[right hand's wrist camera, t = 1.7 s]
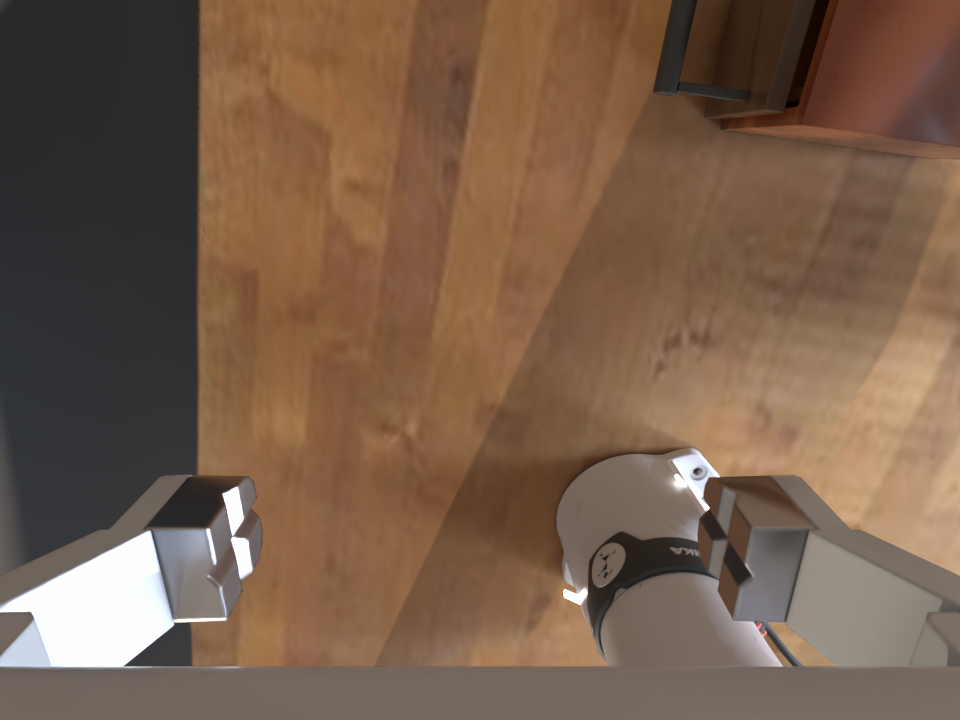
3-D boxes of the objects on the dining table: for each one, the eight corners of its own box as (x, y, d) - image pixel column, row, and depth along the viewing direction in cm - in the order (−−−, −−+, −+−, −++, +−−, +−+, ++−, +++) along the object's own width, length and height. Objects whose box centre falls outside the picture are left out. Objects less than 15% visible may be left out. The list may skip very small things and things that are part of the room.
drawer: (626, 106, 43) (665, 96, 33) (656, -45, 39) (709, -103, 30) (900, 144, 44) (1012, 145, 34) (952, -1, 40) (1093, -44, 31)
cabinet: (720, 129, 44) (801, 125, 33) (762, -35, 40) (869, -103, 29) (929, 158, 45) (1077, 164, 34) (989, 0, 41) (1179, -54, 30)
